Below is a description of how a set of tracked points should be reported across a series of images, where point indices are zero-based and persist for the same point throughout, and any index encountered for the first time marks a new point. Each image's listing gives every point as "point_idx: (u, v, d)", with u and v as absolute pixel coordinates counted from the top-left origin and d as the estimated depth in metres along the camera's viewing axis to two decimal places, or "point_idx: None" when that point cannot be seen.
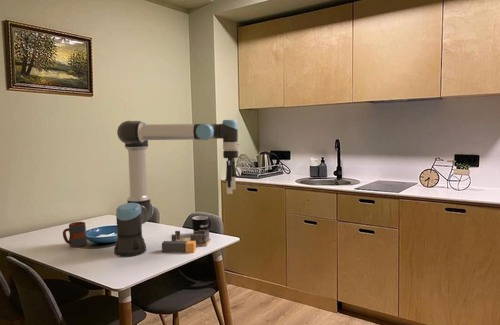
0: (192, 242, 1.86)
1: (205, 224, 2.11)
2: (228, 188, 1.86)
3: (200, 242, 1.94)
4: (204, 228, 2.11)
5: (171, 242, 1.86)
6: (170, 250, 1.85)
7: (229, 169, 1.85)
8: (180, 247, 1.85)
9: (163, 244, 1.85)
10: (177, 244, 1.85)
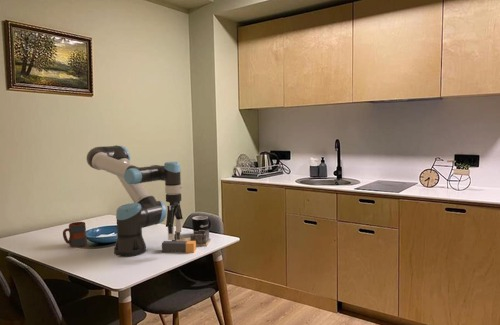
0: (192, 242, 1.86)
1: (205, 224, 2.11)
2: (169, 234, 1.79)
3: (200, 242, 1.94)
4: (204, 228, 2.11)
5: (171, 242, 1.86)
6: (170, 250, 1.85)
7: (170, 215, 1.77)
8: (180, 247, 1.85)
9: (163, 244, 1.85)
10: (177, 244, 1.85)
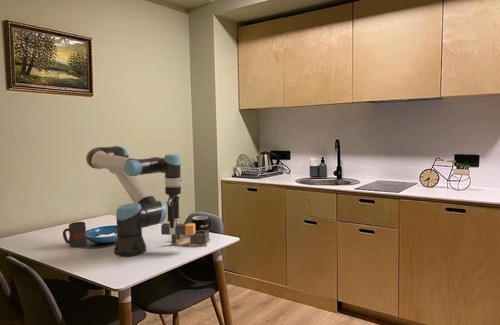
0: (191, 224, 1.85)
1: (205, 224, 2.11)
2: (171, 228, 1.84)
3: (200, 242, 1.94)
4: (204, 228, 2.11)
5: None
6: (169, 232, 1.85)
7: (170, 210, 1.79)
8: (179, 229, 1.84)
9: (163, 226, 1.84)
10: (176, 227, 1.84)
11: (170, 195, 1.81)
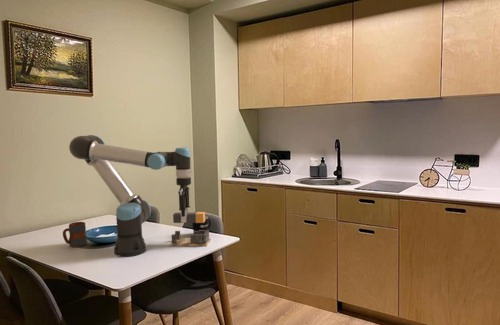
0: (201, 213, 1.97)
1: (205, 224, 2.11)
2: (182, 217, 1.96)
3: (200, 242, 1.94)
4: (204, 228, 2.11)
5: None
6: None
7: (182, 200, 1.92)
8: (190, 218, 1.96)
9: (174, 215, 1.97)
10: (187, 215, 1.96)
11: (181, 185, 1.93)
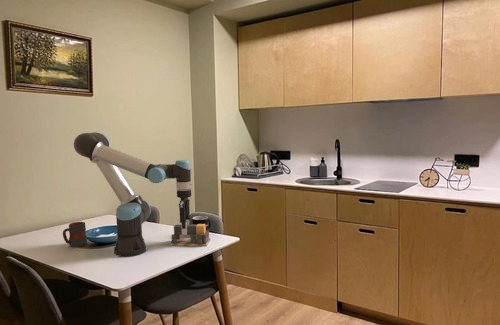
0: (202, 225, 1.98)
1: (205, 224, 2.11)
2: (183, 229, 1.96)
3: (200, 242, 1.94)
4: None
5: None
6: None
7: (182, 212, 1.92)
8: (191, 230, 1.97)
9: (175, 227, 1.97)
10: (188, 227, 1.97)
11: (181, 198, 1.94)
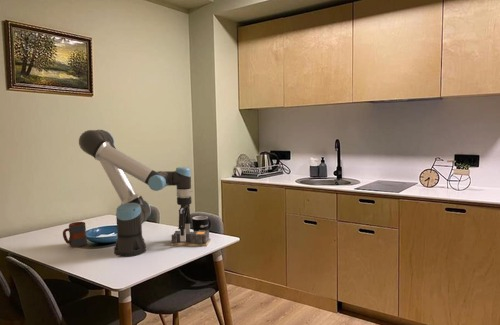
0: (202, 233, 1.98)
1: (205, 224, 2.11)
2: (181, 236, 1.94)
3: (200, 242, 1.94)
4: (204, 228, 2.11)
5: None
6: None
7: (181, 218, 1.91)
8: None
9: None
10: (188, 235, 1.97)
11: None
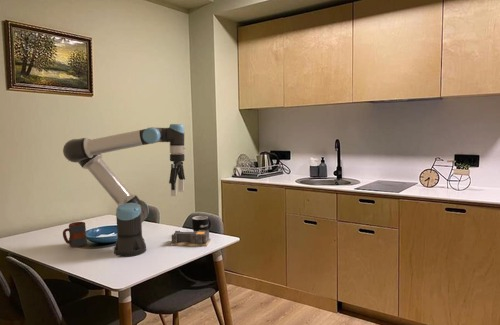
0: (202, 233, 1.98)
1: (205, 224, 2.11)
2: (172, 190, 1.91)
3: (200, 242, 1.94)
4: (204, 228, 2.11)
5: (182, 233, 1.99)
6: (181, 240, 1.98)
7: (173, 172, 1.90)
8: None
9: None
10: (188, 235, 1.97)
11: None
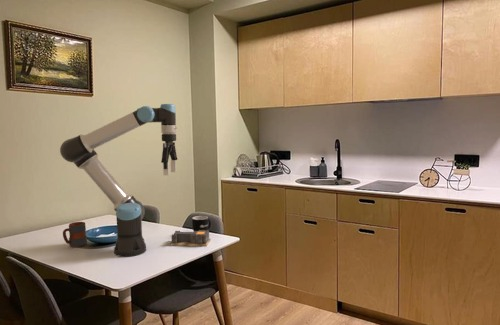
0: (202, 233, 1.98)
1: (205, 224, 2.11)
2: (165, 170, 1.93)
3: (200, 242, 1.94)
4: (204, 228, 2.11)
5: (182, 233, 1.99)
6: (181, 240, 1.98)
7: (165, 151, 1.91)
8: None
9: None
10: (188, 235, 1.97)
11: None
